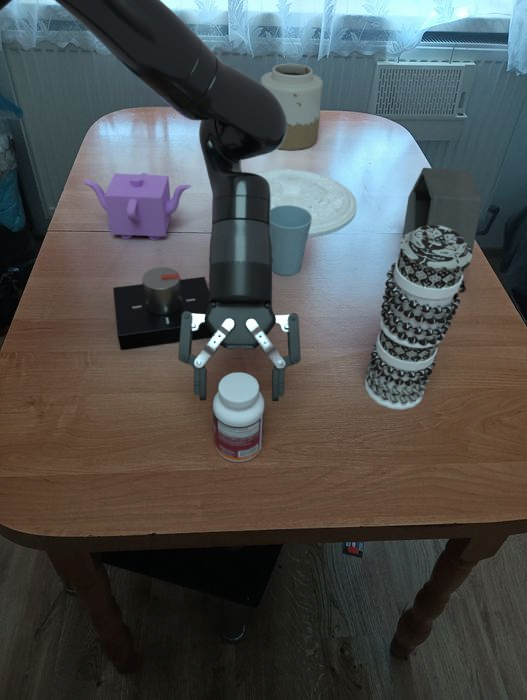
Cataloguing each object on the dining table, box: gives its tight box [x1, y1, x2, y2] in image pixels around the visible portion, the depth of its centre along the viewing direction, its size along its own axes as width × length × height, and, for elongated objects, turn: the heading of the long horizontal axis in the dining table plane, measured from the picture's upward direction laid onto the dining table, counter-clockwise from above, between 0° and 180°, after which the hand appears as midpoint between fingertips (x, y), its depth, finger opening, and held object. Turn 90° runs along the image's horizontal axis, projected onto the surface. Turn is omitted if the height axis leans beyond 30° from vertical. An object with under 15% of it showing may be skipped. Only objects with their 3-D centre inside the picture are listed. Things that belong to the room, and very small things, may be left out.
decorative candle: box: [364, 225, 474, 411], centre depth 69 cm, size 9×9×25 cm
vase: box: [260, 63, 324, 151], centre depth 135 cm, size 15×15×17 cm
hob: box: [112, 276, 214, 351], centre depth 86 cm, size 15×12×3 cm
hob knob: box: [141, 266, 182, 315], centre depth 83 cm, size 6×6×5 cm
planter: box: [401, 167, 483, 271], centre depth 94 cm, size 17×8×21 cm
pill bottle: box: [212, 372, 266, 463], centre depth 66 cm, size 6×6×11 cm
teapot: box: [82, 172, 192, 241], centre depth 102 cm, size 15×13×11 cm
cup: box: [271, 205, 312, 277], centre depth 95 cm, size 8×8×10 cm
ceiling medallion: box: [254, 168, 358, 238], centre depth 115 cm, size 28×28×3 cm
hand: (239, 400), depth 64 cm, fingers open, 8 cm apart
